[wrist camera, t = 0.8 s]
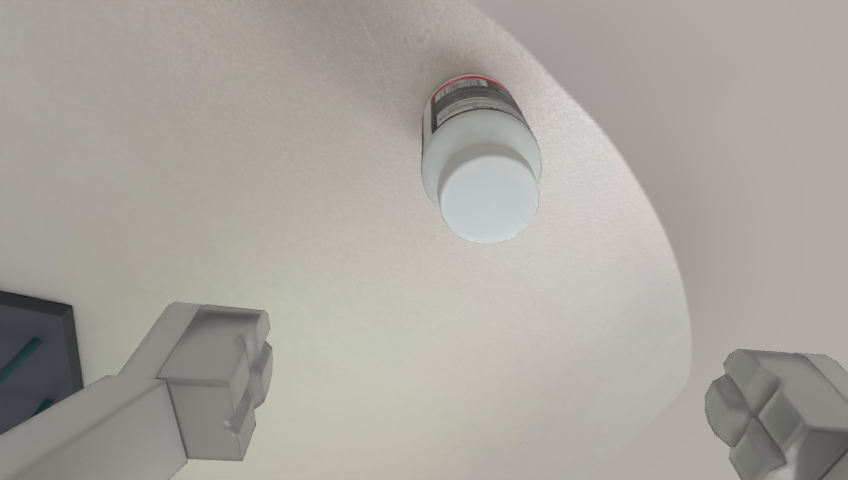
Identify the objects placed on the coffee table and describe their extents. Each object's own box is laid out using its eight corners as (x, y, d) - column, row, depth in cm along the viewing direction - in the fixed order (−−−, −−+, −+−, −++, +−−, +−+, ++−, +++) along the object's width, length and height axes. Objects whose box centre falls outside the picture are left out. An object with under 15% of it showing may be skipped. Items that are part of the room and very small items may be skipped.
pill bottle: (494, 176, 29) (521, 273, 21) (409, 148, 28) (402, 239, 20) (533, 90, 26) (583, 163, 18) (441, 56, 25) (448, 117, 17)
